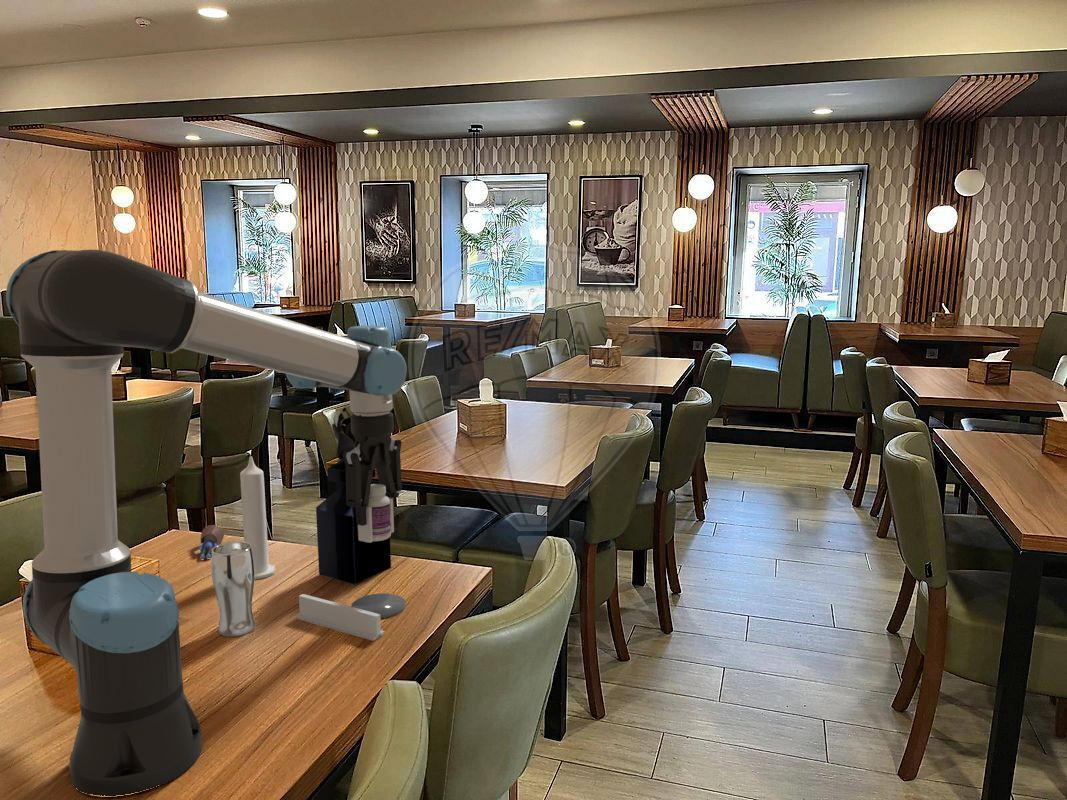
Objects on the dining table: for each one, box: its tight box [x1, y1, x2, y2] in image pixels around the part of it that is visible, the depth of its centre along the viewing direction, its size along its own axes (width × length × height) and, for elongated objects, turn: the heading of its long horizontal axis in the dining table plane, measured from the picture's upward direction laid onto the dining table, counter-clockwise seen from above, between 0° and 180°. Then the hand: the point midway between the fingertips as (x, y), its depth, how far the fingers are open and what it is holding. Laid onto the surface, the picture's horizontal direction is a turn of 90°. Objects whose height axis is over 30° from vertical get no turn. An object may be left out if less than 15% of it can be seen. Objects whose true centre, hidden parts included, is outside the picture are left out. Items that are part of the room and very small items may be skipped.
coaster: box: [350, 592, 407, 620], centre depth 146 cm, size 10×10×1 cm
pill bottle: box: [361, 483, 392, 541], centre depth 143 cm, size 5×5×10 cm
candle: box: [239, 456, 277, 580], centre depth 160 cm, size 7×7×25 cm
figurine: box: [193, 524, 225, 560], centre depth 175 cm, size 6×5×12 cm
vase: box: [315, 407, 392, 586], centre depth 162 cm, size 14×12×35 cm
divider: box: [295, 593, 386, 642], centre depth 137 cm, size 3×18×4 cm, turn 62°
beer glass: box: [210, 540, 256, 638], centre depth 135 cm, size 7×7×15 cm
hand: (376, 535), depth 143 cm, fingers closed on pill bottle, 5 cm apart
